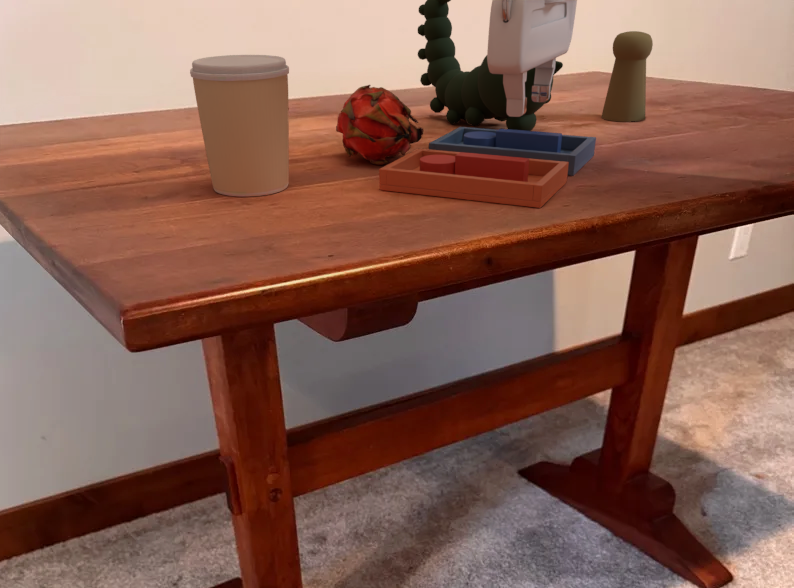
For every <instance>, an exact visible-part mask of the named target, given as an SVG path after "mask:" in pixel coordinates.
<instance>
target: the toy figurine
mask: <svg viewBox="0 0 794 588" xmlns="http://www.w3.org/2000/svg"><path fill="white" fill-rule="evenodd" d="M451 1H452V0H426V1H425V2H424V3H423V4H421V5H419V7H418V13H419V14H420V15H421V16H424V17H423V18H424V19H425V21H424V23H421V24H420V25H418V27H417V35H420V36H421V37H424V38H425V40H426V41H427V42H426V43H425V47H423V48H420V49H419V50H418V51H417V57H418V59H419V60H426V61H427V63H428V65H427V69H426V72H424V73H422V74H421V76H420V79H419V81H420V83H421V85H422V86H425V87H429V86H432V87H434V88H435V90H434V91H435V96H434V97H433V98H432V99H431V100H430V101H429V107H430V111H432V112H434V113H435V114H440V113H442V111H443V110H444V109H445V108H447V111H446V114H445V119H446V121H447V122H448V123H449V124H450V125H456V124H458V123H460V121H461V120H463V121H466V123H467V124H468V125H470V126H473V127H477V126H480V125H481V124H482V123H483V122H484V121H485V120H492V119H494V120H496V121H498V122H505V126H506V129H512V130H525V131H533V129H534V128H535V126H536V125H537V120H538V119H537V116H536V112H538V111H539V110H540V109H541V108H542V107H543V106H544V105H547V104H548V103H549V102H550V101H551V100H552V94H551V93H552V89H553V85H554V77H553V78H552V82H551V86H550V98H549V99H548V100H547V101H545V102H533V101H532V99H531V96H532V86H533V85H534V79H535V70H536V68H533V69H530V70H528V71H527V80H526V82H525V97H527V105H526V108H527V109H526V112H525V114H523V115H522V116H520V117H511V116H508V115H507V113H506V109H507V98H506V94H505V89H504V85H503V74H492V73H490V71H489V68H488V63H487V54H486V55H485V57H484V58H483V60H482V62H481V64H480V65H478V66H475V67H474V68H473V69H472V70H470V71H463V70H462V69H461V65H460V62H459V61H458V59H457V58H456V57H455V56H456V46H455V42H454V41H453V39H452V38H451V36H452V33H453V32H452V31H453V25H452V21H451V20H450V18H449V17H448V15H449V4H448V3H449V2H451ZM563 67H564V64H563V62H562V61H558V60H556V64H555V70H554V74H553V76H555V75H556V74H557V73H558V72H559V71H560V70H561V69H562V68H563Z"/></svg>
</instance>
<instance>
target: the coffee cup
mask: <svg viewBox="0 0 794 588" xmlns="http://www.w3.org/2000/svg"><path fill="white" fill-rule="evenodd" d="M191 62H192V63H191V67H192V68H190V69H189V74H190V77H191V78H192V83H193V89H194V94H195V100H196V106H197V111H198V117H199V123H200V128H201V134H202V139H203V143H204V149H205V154H206V160H207V165H208V171H209V175H210V179H211V184H212V189H213V190H214V192H215V193H218V194H220V195H223V196H229V197H243V198H244V197H261V196H268V195H272V194H277V193H280V192H282V191H284V190H286V189H287V188H288V187H289V184H290V183H289V182H290V181H289V180H290V179H289V178H290V138H289V137H290V135H289V134H290V128H289V127H290V126H289V125H290V124H289V123H290V121H289V76H288V74H290V67H289V66H288V65H287V61H286V59H285V57H283V56H279V55H267V54H229V55H228V54H227V55H216V56H206V57H202V58H196V59H194V60H193V61H191Z"/></svg>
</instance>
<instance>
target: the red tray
mask: <svg viewBox="0 0 794 588" xmlns="http://www.w3.org/2000/svg"><path fill="white" fill-rule="evenodd" d="M459 153H460V152H453V151H442V150H431V149H429V148H416V149H415V150H413V151H411V152H409V153H406V154H405V155H402V156H401V157H399V158H398V159H396V160H393V161H392V162H389V163H390V164H385V165H384V166H382V167H380V168H379V169H378V170H379V171H378V172H379V173H378V174H379V175H378V177H379V178H378V180H379V182H378V183H379V190H380V191H386V192H396V193H404V194H413V195H421V196H430V197H438V198H440V197H441V198H446V199H447V198H448V199H456V200H465V201H474V202H475V201H476V202H484V203H491V204H492V203H493V204H501V205H511V206H517V207H518V206H519V207H526V208H527V207H528V208H537V209H541V208H542V207H543V206H544V205H545V204H546V203H547V202H548V201H549V200H550V199H551V198H552V197H553V196H554V195H555V194H556V193H557V192H559V191H560V190H561V188H562V187H563V186H565V185H566V184H567V182H568V175H567V174H568V165H569V162H564V161H553V160H542V159H531V158H529V170H528V182H523V181H513V180H503V179H494V178H484V177H474V176H464V175H454V174H444V173H434V172H424V171H420V158H421V157H424V156H428V155H451V156H455V155H457V154H459Z"/></svg>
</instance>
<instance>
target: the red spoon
mask: <svg viewBox="0 0 794 588" xmlns="http://www.w3.org/2000/svg"><path fill="white" fill-rule="evenodd" d="M528 170H529V158H520V157H509V156H498V155H487V154H476V153H465V152H460V153H459V154H457V155H455V156H451V155H428V156H424V157H421V158H420V171H424V172H434V173H444V174H454V175H464V176H474V177H484V178H494V179H503V180H513V181H523V182H528Z"/></svg>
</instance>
